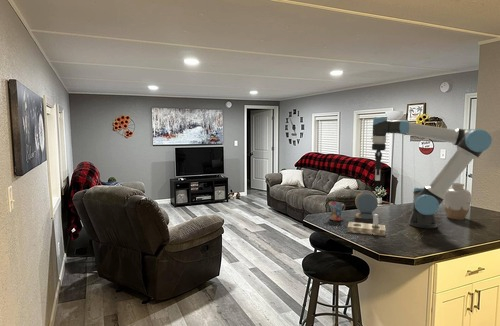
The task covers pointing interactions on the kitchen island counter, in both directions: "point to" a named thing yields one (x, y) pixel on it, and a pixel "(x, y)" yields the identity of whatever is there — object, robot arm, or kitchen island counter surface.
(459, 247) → the kitchen island counter surface
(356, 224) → the hole block
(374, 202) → the alarm clock
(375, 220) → the peg
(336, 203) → the mug
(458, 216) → the vase
